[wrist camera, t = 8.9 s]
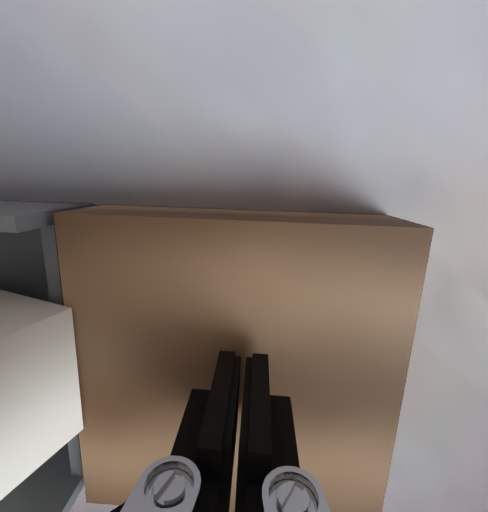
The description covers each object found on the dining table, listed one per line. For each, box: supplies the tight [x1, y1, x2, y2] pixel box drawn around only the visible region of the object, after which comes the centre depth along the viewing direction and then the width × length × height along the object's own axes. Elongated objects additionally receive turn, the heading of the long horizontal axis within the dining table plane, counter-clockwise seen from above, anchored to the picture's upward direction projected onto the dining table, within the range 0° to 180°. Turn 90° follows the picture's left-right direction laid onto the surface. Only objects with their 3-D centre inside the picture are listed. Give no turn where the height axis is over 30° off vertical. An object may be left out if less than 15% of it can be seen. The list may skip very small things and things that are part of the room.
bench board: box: [53, 204, 434, 512], centre depth 13 cm, size 12×12×4 cm
